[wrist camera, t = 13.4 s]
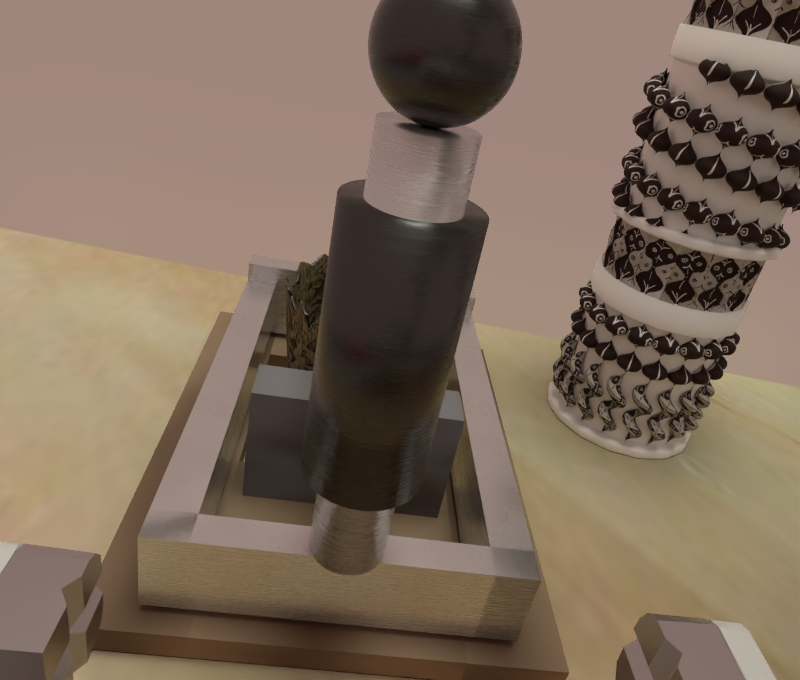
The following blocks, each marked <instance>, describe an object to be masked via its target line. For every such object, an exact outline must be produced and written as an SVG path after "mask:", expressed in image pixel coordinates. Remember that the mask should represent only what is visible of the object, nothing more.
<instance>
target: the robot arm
mask: <svg viewBox="0 0 800 680" xmlns="http://www.w3.org/2000/svg"><path fill="white" fill-rule="evenodd" d="M101 573H102V565H101V555H99V554H96V553H89V552H81V551H74V550H67V549H59V548H52V547H45V546H38V545H30V544H21V543H13V542H5V541H0V680H73V673H74V672H75V671H76V670H77V669H79V668H80V667H81V666H83V665H84V664H85V663H87V661H88V659H89V657H90V654H91V652H92V649H93V647H94V645H95V642H96V638H97V635H98V631H99V628H100V624H101V620H102V612H103V592H102V591H101V590H100V589H99V588H98V587H97V586H96V583H97V581H98V579H99V577H100V575H101ZM634 630H635V633H636V635H637V638H638V639H637V640H635V641H634V642H632V643H630V644H628V645H627V646H625V647H624V648H623V650H622V652H621V654H620V657H619V659H618V661H617V668H616V680H776V678H775V676H774V674H773V672H772V671H771V669H770V667H769V665H768V664H767V662H766V660H765V658H764V657H763V655H762V653H761V651H760V649H759V648H758V646H757V644H756V642H755V641H754V639H753V637H752V635H751V634H750V632H749V631H748V629H746V628H745V627H744V626H743V625H742V624H741V623H734V622H725V621H716V620H706V619H702V618H692V617H681V616H671V615H660V614H650V613H647V614H645V615H644V616H642V617H640V619H639V620H638V622H637V624H636V626H635V627H634Z"/></svg>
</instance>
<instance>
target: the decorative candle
mask: <svg viewBox="0 0 800 680" xmlns="http://www.w3.org/2000/svg"><path fill="white" fill-rule="evenodd" d="M669 56H671V57H673V58H675V59H674V62H673V65H672V68H671V71H670V72H669V73H667V69H666V71H665V72H663V73H660V74H657V75H655V76H653V77H652V78H651V79H650V80H648V81H647V82H646V83H645V85H644V93H645V94H646V95H647V99H648V101H649V102H650V103H651V104H652V106H649V107H646V108H644V109H643V110H642V111H641V112H639V113H637V114H635V115H634V117H633V124H634V125H635V132H636V134H637V135H638V136H639V137H640V138H641V139H642V140H643V142H644V141H645V140H646V141H645V142H644V144H643V145H642V146H640V147H635V148H633V149H631V150H630V151H629V153H628V154H627V155H626V156H624V157H623V159H622V166H623V168H624V169H625V170H624V175H625V177H624V178H623V179H622V180H621V182H620V183H618V184H616V185H614V187H613V188H612V194H613V195H614V196H615V197H614V198H613V200H612V203H611V205H612V208H613V211H614V213H615V214H616V215H617V220H616V224H615V226H614V228H613V229H612V230H611V232H610V235H609V239H608V245H607V249H606V252H605V253H604V254H602V255H601V256H599V257H598V259H597V262H596V265H595V268H594V271H593V274H592V277H591V281H590V282H588V284H587V285H586V286H583V287H581V288H580V291H579V295H580V297H581V299H580V305H581V307H580V308H579V310H576V311H574V312H573V313H572V314H571V319H572V321H573V323H572V330H573V331H572V332H571V333H570V334H569V335H567V336H566V337H564V338H563V340H562V341H561V345H560V346H561V351H562V352H561V358H559V359H558V360H556V361H555V363H554V365H553V371H554V376H553V380H552V381H551V382H550V383H549V386H548V403H549V405H550V407H551V408H552V410H553V411H554V413H555V414H556V416H557V417H558V419H559V420H560V421H562V422H563V423H564V424H565V425H566V426H568V427H569V428H570V429H571V430H573V431H574V432H575V433H576V434H578V435H579V436H580V437H582V438H584V439H586V440H588V441H590V442H592V443H594V444H596V445H598V446H600V447H602V448H604V449H606V450H609V451H613V452H616V453H620V454H624V455H628V456H631V457H635V458H643V459H666V458H669V457H671V456H674V455H676V454H679V453H681V452H683V450H684V448H685V446H686V444H687V442H688V440H689V438H690V436H691V432H690V430H696V429H697V428H698V423H697V421H696V420H695V419H701V418H702V417H703V412H702V411H701V409H700V408H706V407H708V406H709V404H710V401H709V398H708V397H711V396H713V395H714V392H715V391H714V388H713V387H712V385H711V383H710V380H711V379H712V380H718V379H720V378H721V377H722V376H723V369H725V368H726V366H727V361H726V360H725V358H724V357H723V355H731V354H733V353H734V352H735V350H736V345H737V344H738V343H739V340H740V337H739V335H738V334H737V333H736V332H735V331H736V329H737V327H738V325H739V323H740V321H741V319H742V317H743V315H744V313H745V311H746V309H747V307H748V304H749V302H748V300H747V298H748V296H749V295H750V292H751V290H752V288H753V286H754V284H755V282H756V280H757V278H758V276H759V274H760V272H761V269H762V268H763V266H764V263H765V261H766V260H773V259H778V257H779V254H780V253H781V251H782V249H783V248H785V247H787V246H788V245H789V243H790V238H789V236H788V234H787V233H786V232H785V231H784V230H783V224H782V226H780V223H781V221H782V219H783V217H784V215H785V213H786V211H787V209H788V207H792V208H793V210H792V212H794V211H796V210H800V189H798V186H799V184H800V0H693V6H692V9H691V11H690V14H689V15H688V17H687V19H686V20H685V22H684V24H680V25H679V28H678V30H677V33H676V36H675V39H674V42H673V45H672V48H671V50H670V53H669ZM703 385H704V386H703ZM702 386H703V387H702Z"/></svg>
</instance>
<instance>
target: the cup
mask: <svg viewBox="0 0 800 680" xmlns="http://www.w3.org/2000/svg"><path fill="white" fill-rule="evenodd" d="M328 257H329V256H327V255H326V254H323V255H321V256H320V257H319V258H318V259H317V260H316V261H315V262H314V263H312V264H311V265H310V264H309V263H306V262H300V264H299V266H298V269H297V280H296V282H295V283H291V284H290V285H289V278H288V276H287V277H286V281H285V290H286V343H287V359H288V368H292V369H299V370H306V371H313V367H314V359H315V352H316V345H317V337H318V330H319V323H320V315H321V308H322V301H323V294H324V286H325V279H326V272H327V264H328Z"/></svg>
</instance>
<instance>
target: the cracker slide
mask: <svg viewBox="0 0 800 680" xmlns="http://www.w3.org/2000/svg"><path fill="white" fill-rule="evenodd" d="M521 51H522V31H521V25H520V20H519V17H518V13H517V11H516V8H515V6H514V4H513V1H512V0H380V2H379V4H378V6H377V8H376V10H375V13H374V16H373V19H372V22H371V26H370V31H369V39H368V55H369V61H370V67H371V70H372V74H373V77H374V79H375V82H376V84H377V86H378V88H379V90H380V92H381V93H382V95H383V96H384V98H385V99H386V100H387V102H388V103H389V104H390V105H391V106H392V107H393V108H394V109H395V110H396V111H397V112H382V113H378V114H377V115H376V118H375V124H374V130H373V136H372V143H371V149H370V156H369V163H368V168H367V175H366V179H365V180H356V181H351V182H348V183H346V184H343V185H342V186H341V187H340V188H339V189H338V191H337V199H336V206H335V213H334V221H333V228H332V235H331V243H330V250H329V257H328V264H327V272H326V279H325V286H324V294H323V301H322V308H321V315H320V323H319V330H318V337H317V345H316V352H315V359H314V367H313V374H312V381H311V388H310V396H309V403H308V410H307V418H306V425H305V432H304V440H303V447H302V454H301V464H300V465H301V471H302V474H303V476H304V478H305V480H306V482H307V483H308V484H309V486H310V487H311V488H312V489H313V490H314V491H315V492H316V493H317V494H316V500H315V506H314V513H313V519H312V525H311V526H303V525H294V524H285V523H276V522H267V521H259V520H250V519H241V518H232V517H223V516H215V514H216V511H217V508H218V504H219V501H220V498H221V495H222V491H223V488H224V485H225V481H226V478H227V475H228V472H229V468H230V465H231V462H232V458H233V455H234V452H235V449H236V445H237V442H238V439H239V436H240V432H241V429H242V426H243V422H244V419H245V416H246V413H247V409H248V406H249V403H250V398H251V391H252V388H253V385H254V381H255V378H256V375H257V372H258V368H259V365H260V364H261V363H262V360H263V357H264V354H265V350H266V347H267V344H268V340H269V337H270V334H271V332H273V333H280V334H286V290H285V281H286V277H287V276H288V278H289V285H290V284H291V283H295V282H296V280H297V269H298V266H299V264H300V262H294V261H287V260H281V259H275V258H268V257H262V256H255V255H253V256H252V259H251V261H250V263H249V273H248V281H247V284H246V286H245V288H244V291H243V293H242V295H241V298H240V300H239V302H238V305H237V307H236V309H235V312H234V314H233V316H232V319H231V321H230V323H229V326H228V328H227V330H226V333H225V335H224V337H223V339H222V342H221V344H220V346H219V349H218V351H217V353H216V356H215V358H214V360H213V363H212V365H211V367H210V370H209V372H208V374H207V377H206V379H205V381H204V384H203V386H202V388H201V391H200V393H199V395H198V398H197V400H196V402H195V404H194V407H193V409H192V411H191V414H190V416H189V418H188V421H187V423H186V425H185V428H184V430H183V432H182V435H181V437H180V439H179V442H178V444H177V446H176V449H175V451H174V453H173V456H172V458H171V460H170V463H169V465H168V467H167V469H166V472H165V474H164V476H163V479H162V481H161V483H160V486H159V488H158V490H157V493H156V495H155V497H154V500H153V502H152V504H151V507H150V509H149V511H148V514H147V516H146V518H145V521H144V523H143V525H142V528H141V530H140V532H139V534H138V537H137V542H138V599H139V605H149V606H159V607H169V608H180V609H190V610H200V611H211V612H221V613H231V614H242V615H252V616H262V617H272V618H283V619H293V620H303V621H314V622H324V623H334V624H345V625H355V626H365V627H376V628H386V629H396V630H406V631H417V632H427V633H437V634H448V635H458V636H468V637H479V638H489V639H499V640H510V641H517V639H518V637H519V634H520V632H521V629H522V627H523V625H524V622H525V620H526V617H527V615H528V612H529V610H530V608H531V605H532V603H533V600H534V598H535V595H536V593H537V590H538V588H539V586H540V583H541V581H542V580H541V577H540V573H539V569H538V565H537V562H536V558H535V554H534V550H533V546H532V543H531V539H530V535H529V531H528V527H527V524H526V520H525V516H524V512H523V508H522V505H521V501H520V497H519V493H518V489H517V486H516V482H515V478H514V474H513V470H512V467H511V463H510V459H509V455H508V451H507V448H506V444H505V440H504V436H503V432H502V429H501V425H500V421H499V417H498V413H497V410H496V406H495V402H494V398H493V394H492V391H491V387H490V383H489V379H488V375H487V372H486V368H485V364H484V360H483V356H482V353H481V349H480V345H479V341H478V338H477V334H476V330H475V326H474V322H473V319H472V315H471V314H472V310H473V306H474V302H475V295H474V292H473V289H472V286H473V282H474V279H475V275H476V271H477V267H478V263H479V259H480V254H481V251H482V247H483V244H484V239H485V235H486V232H487V228H488V224H489V217H488V215H487V213H486V212H485V211H484V210H483V209H482V208H480V207H479V206H477V205H476V204H474V203H473V202H471V201H469V200H468V196H469V192H470V188H471V184H472V179H473V175H474V170H475V166H476V162H477V158H478V154H479V150H480V145H481V141H482V135H481V134H480V133H479V132H477V131H476V130H474V129H471V128H469V127H467V126H464V125H466V124H469V123H471V122H474V121H476V120H477V119H479V118H481V117H483V116H484V115H486V114H487V113H488V112H490V111H491V110H492V109H493V108H494V107H495V106H496V105H497V104H498V103H499V102H500V101H501V100H502V98H503V97H504V96H505V95H506V93H507V92H508V90H509V88H510V87H511V85H512V83H513V81H514V78H515V76H516V74H517V71H518V67H519V64H520V58H521ZM310 265H311V264H310ZM446 390H451V391H458V392H459V393H460V399H461V404H462V409H463V415H464V420H465V422H464V425H463V429H462V433H461V436H460V440H459V443H458V447H457V450H456V454H455V458H454V461H453V465H452V468H451V477H452V484H453V491H454V499H455V506H456V513H457V520H458V527H459V534H460V542H461V543H454V542H445V541H436V540H427V539H418V538H409V537H401V536H392V535H389V531H390V527H391V522H392V518H393V514H394V510H395V508H396V507H398V506H401V505H403V504H405V503H407V502H408V501H409V500H411V499H412V498H413V497H414V496H415V495H416V494H417V493H418V491H419V490H420V487H421V485H422V481H423V477H424V474H425V470H426V466H427V462H428V458H429V454H430V450H431V446H432V442H433V438H434V435H435V431H436V427H437V423H438V419H439V415H440V411H441V407H442V403H443V399H444V396H445V392H446Z"/></svg>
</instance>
